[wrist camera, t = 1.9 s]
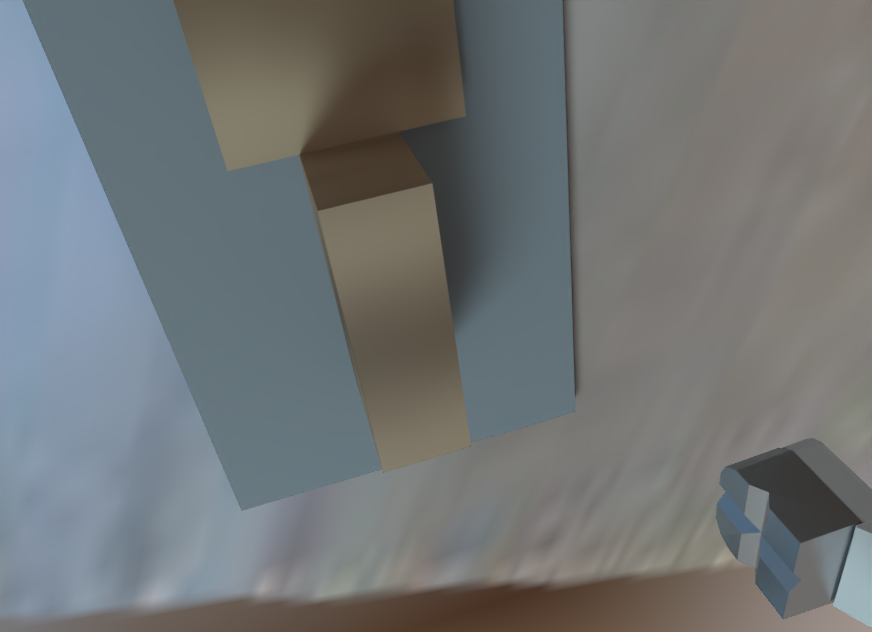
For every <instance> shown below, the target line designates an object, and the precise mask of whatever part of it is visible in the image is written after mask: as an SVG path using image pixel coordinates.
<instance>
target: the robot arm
mask: <svg viewBox="0 0 872 632" xmlns="http://www.w3.org/2000/svg"><path fill="white" fill-rule="evenodd" d="M719 484H720V485H721V487H722V488H723V489H724V490H725V491H726V492H725V493H724V494H723V496H722V497H721V498H720V500H719V501H718V502H717V509H716V520H717V523H718V527H719V530H720V534H721V536H722V538H723V540H724V541H725V543H726V545H727V547H728V548H729V550H730V551H731V552H732V554H733V555H734V556H735V558H736V559H737V560H738V561H740V562H742V563H744V564H746V565H748V566H751V567H753V568H755V584H756V585H757V587H758V588H759V589H760V590H761V592H762V593H763V594H764V595H765V597H766V598H767V599H768V601H769V602H770V603H771V605H772V606H773V607H774V608H775V610H776V611H777V612H778V614H779V615H780V616H781V617H782V619H786V618H789V617H792V616H795V615H798V614H801V613H804V612H806V611H809V610H812V609H815V608H818V607H821V606H824V605H827V604H830V603H833V602H834V604H833V606H835V607H837V608H838V609H840V610H842V611H844V612H845V613H847V614H849V615H850V616H852V617H854V618H855V619H857V620H859V621H861V622H862V623H864V624H866V625H867V626H869V627H871V628H872V489H871V488H870V487H869V486H868V485H867V484H865V483H864V482H863V481H862V480H861V479H860V478H859V477H858V476H857V475H856V474H855V473H854V472H853V471H852V470H851V469H850V468H848V467H847V466H846V465H845V464H844V463H843V462H842V461H841V460H840V459H839V458H838V457H837V456H836V455H835V454H834V453H833V452H832V451H830V450H829V449H828V448H827V447H826V446H825V445H824V444H823V443H822V442H821V441H818V440H816V439H814V438H810V439H805V440H802V441H800V442H797V443H794V444H791V445H789V446H786V447H783V448H777V449H774V450H771V451H768V452H766V453H763V454H760V455H757V456H754V457H751V458H749V459H746V460H743V461H740V462H737V463H735V464H732V465H729V466H726V467H725V468H724V469H723V471H722V472H721V475H720V482H719Z"/></svg>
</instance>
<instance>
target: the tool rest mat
mask: <svg viewBox="0 0 872 632" xmlns="http://www.w3.org/2000/svg"><path fill="white" fill-rule="evenodd" d="M23 2H24V5H25V7H26V9H27V12H28V14H29V16H30V19H31V21H32V23H33V26H34V28H35V30H36V33H37V35H38V37H39V40H40V42H41V44H42V47H43V49H44V51H45V54H46V56H47V58H48V61H49V63H50V65H51V68H52V70H53V72H54V75H55V77H56V79H57V82H58V84H59V86H60V88H61V91H62V93H63V95H64V98H65V100H66V102H67V105H68V107H69V109H70V112H71V114H72V116H73V119H74V121H75V123H76V126H77V128H78V130H79V133H80V135H81V137H82V140H83V142H84V144H85V147H86V149H87V151H88V154H89V156H90V158H91V161H92V163H93V165H94V168H95V170H96V172H97V175H98V177H99V179H100V182H101V184H102V186H103V189H104V191H105V193H106V196H107V198H108V200H109V203H110V205H111V207H112V210H113V212H114V214H115V217H116V219H117V221H118V224H119V226H120V228H121V231H122V233H123V235H124V238H125V240H126V242H127V245H128V247H129V249H130V252H131V254H132V256H133V259H134V261H135V263H136V266H137V268H138V270H139V273H140V275H141V277H142V280H143V282H144V284H145V287H146V289H147V291H148V294H149V296H150V298H151V301H152V303H153V305H154V308H155V310H156V312H157V315H158V317H159V319H160V322H161V324H162V326H163V329H164V331H165V333H166V336H167V338H168V340H169V343H170V345H171V347H172V350H173V352H174V354H175V357H176V359H177V361H178V364H179V366H180V368H181V371H182V373H183V375H184V378H185V380H186V382H187V385H188V387H189V389H190V392H191V394H192V396H193V399H194V401H195V403H196V406H197V408H198V410H199V413H200V415H201V417H202V420H203V422H204V424H205V427H206V429H207V431H208V434H209V436H210V438H211V441H212V443H213V445H214V447H215V450H216V452H217V454H218V457H219V459H220V461H221V464H222V466H223V468H224V471H225V473H226V475H227V478H228V480H229V482H230V485H231V487H232V489H233V492H234V494H235V496H236V499H237V501H238V503H239V506H240V508H241V510H246V509H249V508H253V507H256V506H259V505H263V504H266V503H269V502H273V501H276V500H280V499H283V498H286V497H290V496H293V495H296V494H300V493H303V492H307V491H310V490H313V489H317V488H320V487H323V486H327V485H330V484H334V483H337V482H340V481H344V480H347V479H350V478H354V477H357V476H361V475H364V474H367V473H371V472H374V471H377V470H381V469H382V467H381V463H380V460H379V457H378V453H377V450H376V446H375V443H374V440H373V436H372V433H371V429H370V426H369V423H368V419H367V416H366V412H365V409H364V406H363V402H362V399H361V396H360V392H359V389H358V385H357V382H356V378H355V374H354V370H353V366H352V362H351V358H350V354H349V350H348V347H347V343H346V339H345V335H344V331H343V327H342V323H341V319H340V315H339V311H338V307H337V303H336V299H335V295H334V292H333V288H332V284H331V280H330V276H329V272H328V268H327V264H326V260H325V256H324V252H323V248H322V244H321V241H320V237H319V233H318V229H317V225H316V221H315V217H314V213H313V209H312V205H311V201H310V197H309V193H308V189H307V186H306V182H305V178H304V174H303V170H302V166H301V162H300V158H299V155H296V156H291V157H287V158H283V159H279V160H274V161H270V162H266V163H261V164H257V165H253V166H248V167H244V168H240V169H235V170H231V171H227V168H226V165H225V162H224V158H223V155H222V152H221V149H220V146H219V143H218V140H217V136H216V133H215V130H214V127H213V124H212V121H211V118H210V114H209V111H208V108H207V105H206V102H205V99H204V96H203V92H202V89H201V86H200V83H199V80H198V77H197V74H196V70H195V67H194V64H193V61H192V58H191V55H190V52H189V48H188V45H187V42H186V39H185V36H184V33H183V30H182V26H181V23H180V20H179V17H178V14H177V11H176V8H175V4H174V1H173V0H23ZM453 3H454V12H455V21H456V30H457V39H458V48H459V57H460V66H461V75H462V84H463V93H464V102H465V111H466V116H464V117H460V118H455V119H451V120H447V121H442V122H438V123H434V124H429V125H425V126H421V127H417V128H412V129H408V130H404V131H399V133H400V134H401V136H402V137H403V139H404V140H405V142H406V143H407V145H408V147H409V148H410V150H411V151H412V153H413V154H414V156H415V157H416V159H417V160H418V162H419V163H420V165H421V166H422V168H423V170H424V171H425V173H426V174H427V176H428V177H429V179H430V180H431V182H432V184H433V191H434V197H435V204H436V211H437V218H438V225H439V231H440V238H441V245H442V252H443V259H444V265H445V272H446V279H447V286H448V293H449V299H450V306H451V313H452V320H453V327H454V334H455V340H456V347H457V354H458V361H459V368H460V374H461V381H462V388H463V395H464V402H465V408H466V415H467V422H468V429H469V436H470V442H471V443H472V442H475V441H479V440H482V439H485V438H489V437H492V436H496V435H499V434H502V433H506V432H509V431H512V430H516V429H519V428H523V427H526V426H529V425H533V424H536V423H539V422H543V421H546V420H550V419H553V418H556V417H560V416H563V415H566V414H570V413H573V412H575V383H574V351H573V319H572V288H571V256H570V224H569V192H568V160H567V128H566V97H565V65H564V33H563V1H562V0H453Z"/></svg>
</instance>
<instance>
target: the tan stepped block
mask: <svg viewBox="0 0 872 632" xmlns="http://www.w3.org/2000/svg"><path fill="white" fill-rule="evenodd" d="M173 1H174V4H175V8H176V11H177V14H178V17H179V20H180V23H181V26H182V30H183V33H184V36H185V39H186V42H187V45H188V48H189V52H190V55H191V58H192V61H193V64H194V67H195V70H196V74H197V77H198V80H199V83H200V86H201V89H202V92H203V96H204V99H205V102H206V105H207V108H208V111H209V114H210V118H211V121H212V124H213V127H214V130H215V133H216V136H217V140H218V143H219V146H220V149H221V152H222V155H223V158H224V162H225V165H226V168H227V171H231V170H235V169H240V168H244V167H248V166H253V165H257V164H261V163H266V162H270V161H274V160H279V159H283V158H287V157H291V156H296V155H299V158H300V162H301V166H302V170H303V174H304V178H305V182H306V186H307V189H308V193H309V197H310V201H311V205H312V209H313V213H314V217H315V221H316V225H317V229H318V233H319V237H320V241H321V244H322V248H323V252H324V256H325V260H326V264H327V268H328V272H329V276H330V280H331V284H332V288H333V292H334V295H335V299H336V303H337V307H338V311H339V315H340V319H341V323H342V327H343V331H344V335H345V339H346V343H347V347H348V350H349V354H350V358H351V362H352V366H353V370H354V374H355V378H356V382H357V385H358V389H359V392H360V396H361V399H362V402H363V406H364V409H365V412H366V416H367V419H368V423H369V426H370V429H371V433H372V436H373V440H374V443H375V446H376V450H377V453H378V457H379V460H380V463H381V467H382V470H383V473H384V472H387V471H391V470H394V469H397V468H401V467H404V466H407V465H411V464H414V463H417V462H421V461H424V460H428V459H431V458H434V457H438V456H441V455H444V454H448V453H451V452H454V451H458V450H461V449H465V448H468V447H471V442H470V436H469V429H468V422H467V415H466V408H465V402H464V395H463V388H462V381H461V374H460V368H459V361H458V354H457V347H456V340H455V334H454V327H453V320H452V313H451V306H450V299H449V293H448V286H447V279H446V272H445V265H444V259H443V252H442V245H441V238H440V231H439V225H438V218H437V211H436V204H435V197H434V191H433V184H432V182H431V180H430V179H429V177H428V176H427V174H426V173H425V171H424V170H423V168H422V166H421V165H420V163H419V162H418V160H417V159H416V157H415V156H414V154H413V153H412V151H411V150H410V148H409V147H408V145H407V143H406V142H405V140H404V139H403V137H402V136H401V134H400V133H399V131H404V130H408V129H412V128H417V127H421V126H425V125H429V124H434V123H438V122H442V121H447V120H451V119H455V118H460V117H464V116H466V111H465V102H464V93H463V84H462V75H461V66H460V57H459V48H458V39H457V30H456V21H455V12H454V3H453V0H173Z"/></svg>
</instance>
